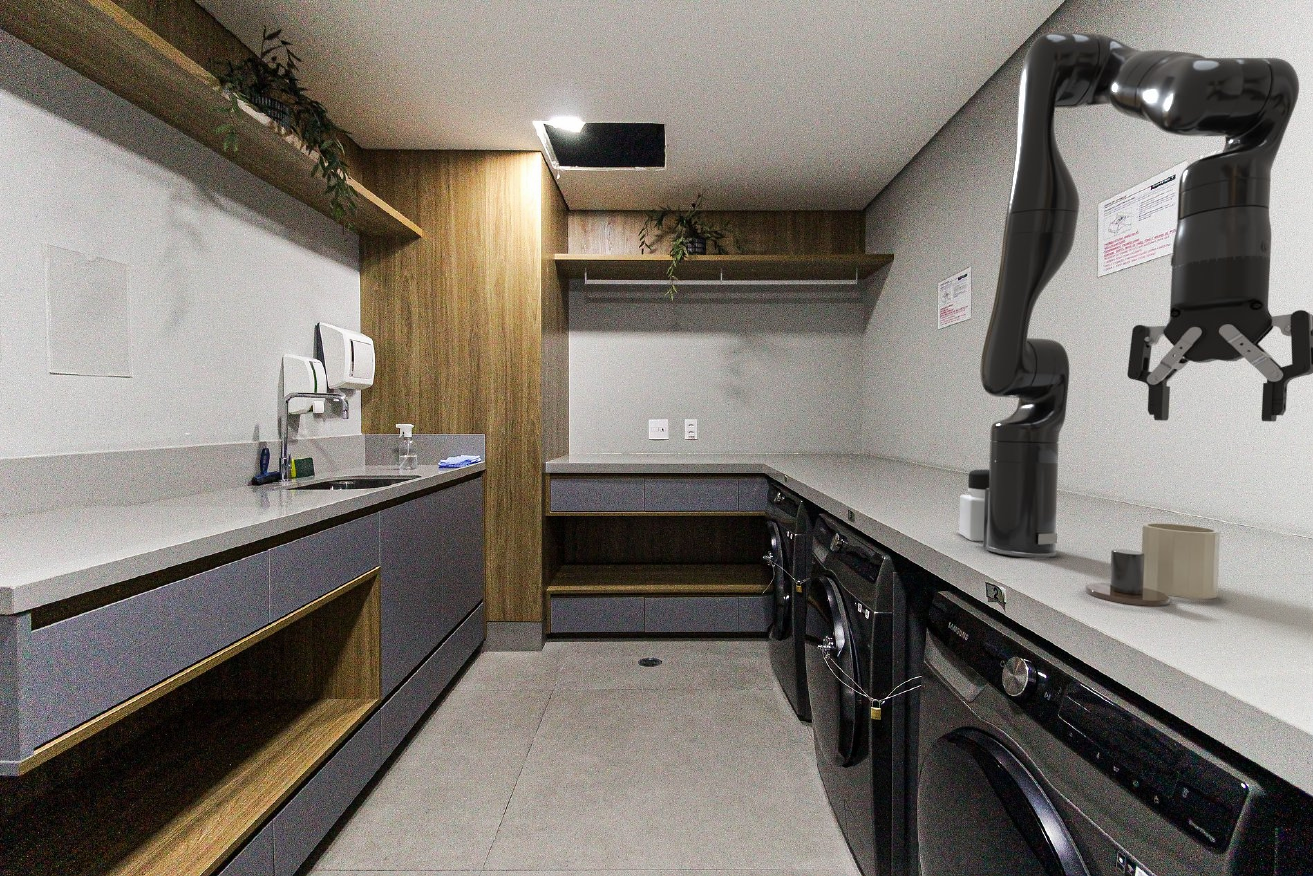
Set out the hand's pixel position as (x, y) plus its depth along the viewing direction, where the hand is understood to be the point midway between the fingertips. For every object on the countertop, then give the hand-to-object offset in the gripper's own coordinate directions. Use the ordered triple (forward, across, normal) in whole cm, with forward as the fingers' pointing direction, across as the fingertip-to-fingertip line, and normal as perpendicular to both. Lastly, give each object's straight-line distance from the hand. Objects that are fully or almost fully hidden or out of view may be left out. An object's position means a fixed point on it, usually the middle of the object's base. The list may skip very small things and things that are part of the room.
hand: (1211, 420), depth 65 cm
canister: (+21, +5, -10) cm, 23 cm away
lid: (+20, +7, -1) cm, 21 cm away
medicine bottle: (+21, +36, -27) cm, 50 cm away
